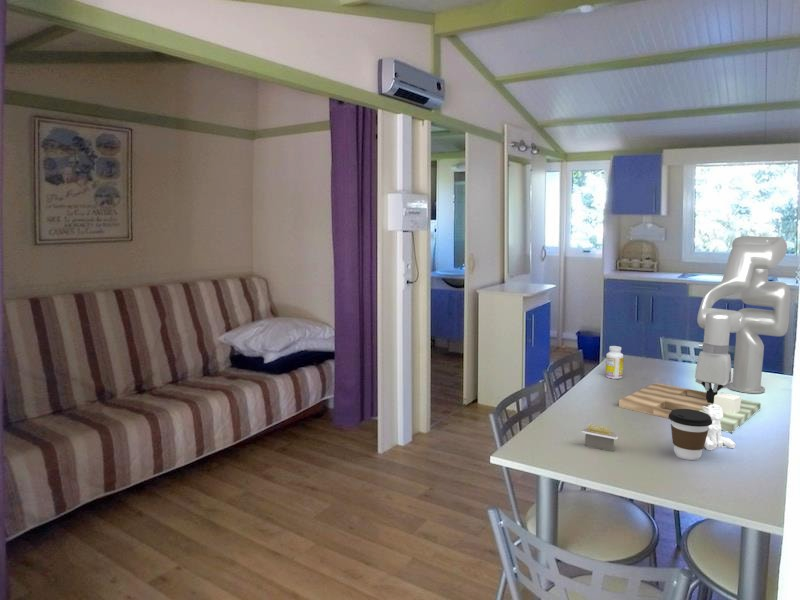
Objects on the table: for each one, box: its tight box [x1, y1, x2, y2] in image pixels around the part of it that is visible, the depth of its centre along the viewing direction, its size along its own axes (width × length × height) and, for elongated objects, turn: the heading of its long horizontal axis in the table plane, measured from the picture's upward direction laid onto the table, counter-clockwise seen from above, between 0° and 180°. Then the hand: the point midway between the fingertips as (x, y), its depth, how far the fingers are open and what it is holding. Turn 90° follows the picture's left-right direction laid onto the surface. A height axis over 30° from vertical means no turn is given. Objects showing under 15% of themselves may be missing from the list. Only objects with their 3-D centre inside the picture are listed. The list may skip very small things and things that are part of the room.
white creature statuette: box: [702, 404, 737, 451], centre depth 176 cm, size 10×9×12 cm
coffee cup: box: [668, 409, 712, 461], centre depth 167 cm, size 11×11×12 cm
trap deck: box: [618, 382, 762, 433], centre depth 210 cm, size 32×36×2 cm
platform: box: [581, 424, 619, 453], centre depth 174 cm, size 12×18×7 cm, turn 58°
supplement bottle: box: [605, 345, 624, 380], centre depth 250 cm, size 7×7×13 cm
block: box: [714, 392, 742, 415], centre depth 200 cm, size 6×6×5 cm
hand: (711, 402), depth 205 cm, fingers closed
